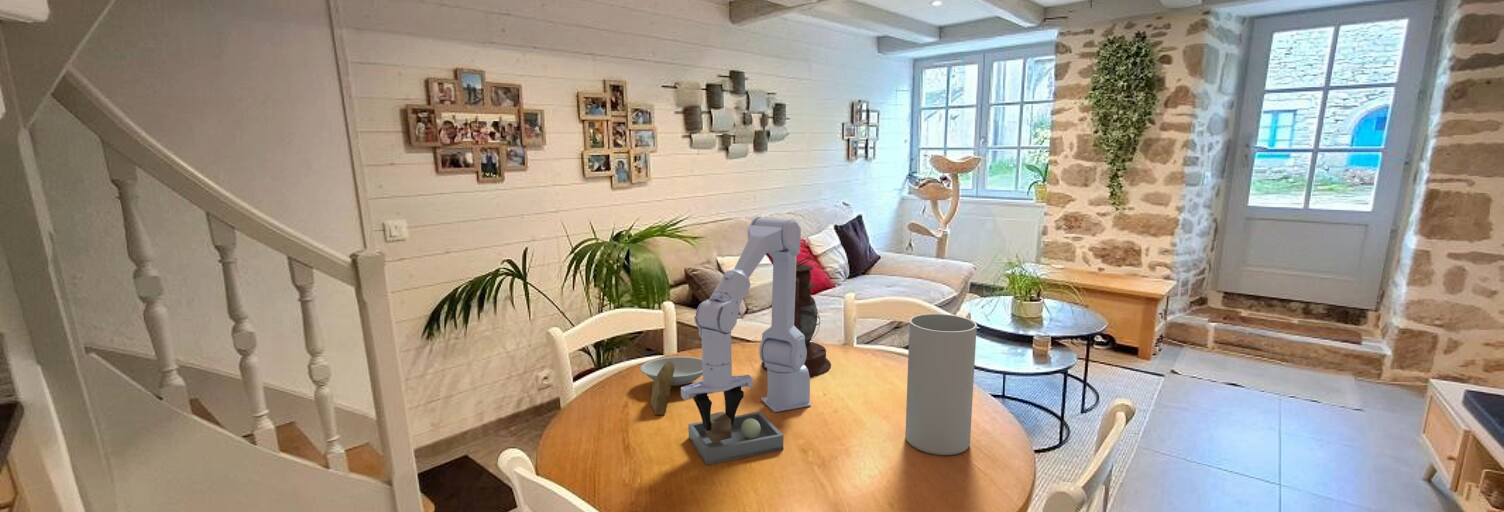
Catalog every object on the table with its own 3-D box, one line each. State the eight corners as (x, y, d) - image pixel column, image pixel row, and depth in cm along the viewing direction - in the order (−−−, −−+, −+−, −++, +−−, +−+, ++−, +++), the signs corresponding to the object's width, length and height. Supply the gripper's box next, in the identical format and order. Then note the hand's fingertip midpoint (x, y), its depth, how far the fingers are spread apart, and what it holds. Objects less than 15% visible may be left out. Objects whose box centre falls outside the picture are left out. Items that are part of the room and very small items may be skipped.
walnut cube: (723, 429, 126) (722, 411, 125) (731, 437, 122) (730, 419, 122) (705, 434, 124) (704, 415, 123) (712, 442, 121) (712, 423, 120)
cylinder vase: (936, 463, 116) (942, 335, 112) (892, 435, 127) (896, 319, 123) (983, 447, 122) (991, 326, 118) (937, 423, 133) (943, 310, 129)
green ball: (752, 431, 129) (752, 413, 128) (764, 438, 126) (764, 420, 125) (737, 436, 126) (737, 418, 125) (749, 444, 123) (749, 425, 122)
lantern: (764, 352, 179) (763, 250, 174) (830, 354, 177) (831, 251, 172) (758, 376, 161) (757, 263, 155) (832, 378, 159) (833, 264, 153)
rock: (673, 409, 136) (693, 387, 144) (649, 379, 135) (671, 358, 144) (642, 429, 141) (663, 406, 149) (619, 400, 140) (642, 379, 149)
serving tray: (760, 424, 133) (760, 411, 133) (783, 449, 122) (783, 435, 122) (688, 437, 127) (688, 424, 127) (706, 465, 116) (705, 450, 116)
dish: (711, 373, 163) (710, 355, 162) (711, 394, 149) (710, 375, 148) (644, 375, 162) (643, 357, 161) (637, 397, 148) (636, 377, 147)
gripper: (741, 349, 127) (742, 411, 129) (674, 360, 121) (676, 425, 123) (757, 359, 121) (757, 424, 123) (687, 372, 114) (689, 440, 117)
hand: (718, 426), depth 123 cm, fingers open, 4 cm apart
